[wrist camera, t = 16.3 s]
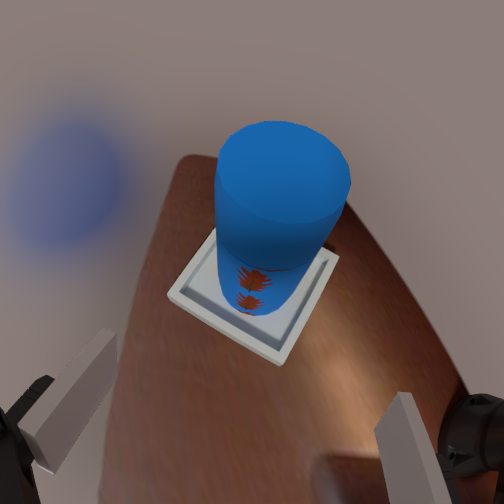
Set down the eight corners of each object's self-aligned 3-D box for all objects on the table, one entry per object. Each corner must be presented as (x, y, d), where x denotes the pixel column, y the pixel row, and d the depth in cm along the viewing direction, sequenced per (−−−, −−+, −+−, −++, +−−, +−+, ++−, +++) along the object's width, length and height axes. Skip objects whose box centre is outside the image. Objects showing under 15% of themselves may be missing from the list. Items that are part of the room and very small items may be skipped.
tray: (333, 264, 49) (339, 256, 47) (279, 366, 42) (282, 364, 39) (235, 210, 52) (235, 200, 50) (170, 300, 45) (166, 294, 42)
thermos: (209, 305, 44) (194, 204, 22) (229, 239, 49) (235, 109, 26) (285, 325, 44) (348, 243, 21) (299, 257, 48) (355, 139, 26)
